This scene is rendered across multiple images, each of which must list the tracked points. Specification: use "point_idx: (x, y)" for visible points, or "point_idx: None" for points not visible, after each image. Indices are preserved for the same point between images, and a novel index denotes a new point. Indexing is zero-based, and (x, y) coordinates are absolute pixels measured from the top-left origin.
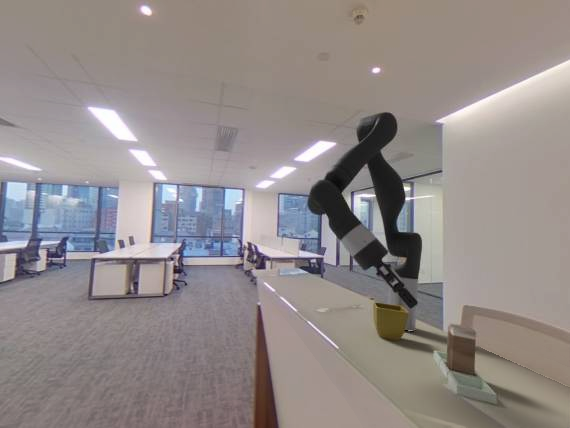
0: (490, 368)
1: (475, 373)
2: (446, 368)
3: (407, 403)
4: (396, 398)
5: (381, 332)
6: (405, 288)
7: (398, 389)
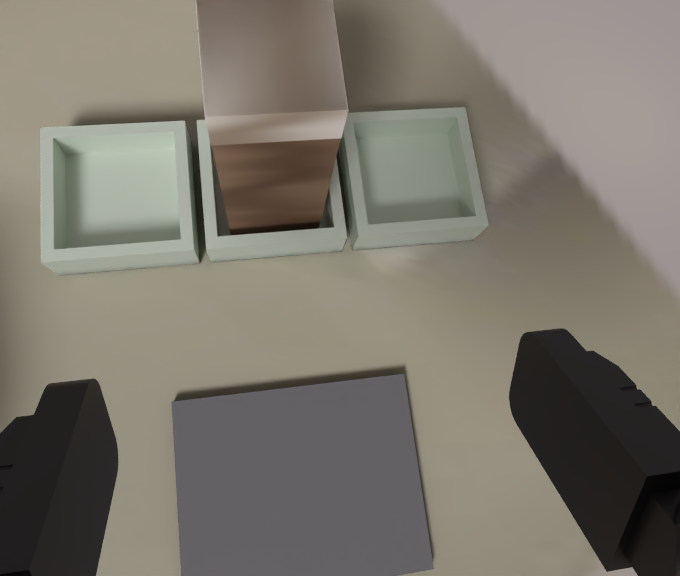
0: (3, 27)
1: None
2: (318, 237)
3: None
4: None
5: None
6: (659, 480)
7: None
